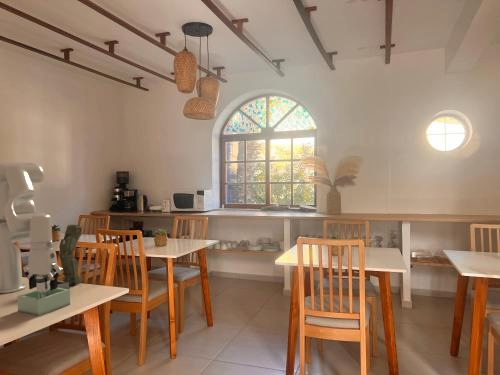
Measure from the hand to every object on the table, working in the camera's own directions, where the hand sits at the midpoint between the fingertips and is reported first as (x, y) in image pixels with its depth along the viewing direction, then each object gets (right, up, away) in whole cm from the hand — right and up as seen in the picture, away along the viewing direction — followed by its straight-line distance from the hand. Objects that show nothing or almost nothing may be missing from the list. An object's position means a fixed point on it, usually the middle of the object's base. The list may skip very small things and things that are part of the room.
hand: (43, 288), depth 140 cm
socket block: (-4, -7, +16) cm, 18 cm away
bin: (0, -8, 0) cm, 8 cm away
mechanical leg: (-5, -7, +32) cm, 33 cm away
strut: (0, -7, 0) cm, 7 cm away
